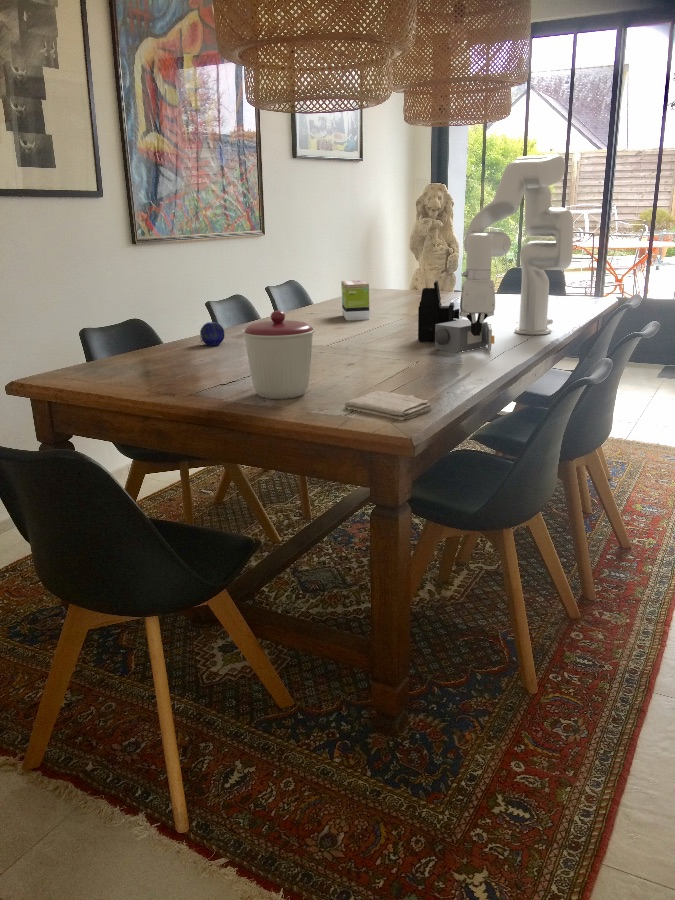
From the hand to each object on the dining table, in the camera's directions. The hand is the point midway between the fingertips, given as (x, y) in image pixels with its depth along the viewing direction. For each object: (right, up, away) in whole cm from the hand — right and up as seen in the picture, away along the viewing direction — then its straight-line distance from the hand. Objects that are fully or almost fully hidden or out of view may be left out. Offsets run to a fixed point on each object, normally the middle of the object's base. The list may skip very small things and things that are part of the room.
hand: (475, 335), depth 234 cm
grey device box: (-3, -3, +9) cm, 10 cm away
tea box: (-36, +19, +78) cm, 88 cm away
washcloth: (-32, -27, -60) cm, 73 cm away
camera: (-9, +1, +22) cm, 24 cm away
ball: (-87, 0, +24) cm, 90 cm away
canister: (-58, -22, -45) cm, 77 cm away
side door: (+5, -3, +3) cm, 7 cm away
